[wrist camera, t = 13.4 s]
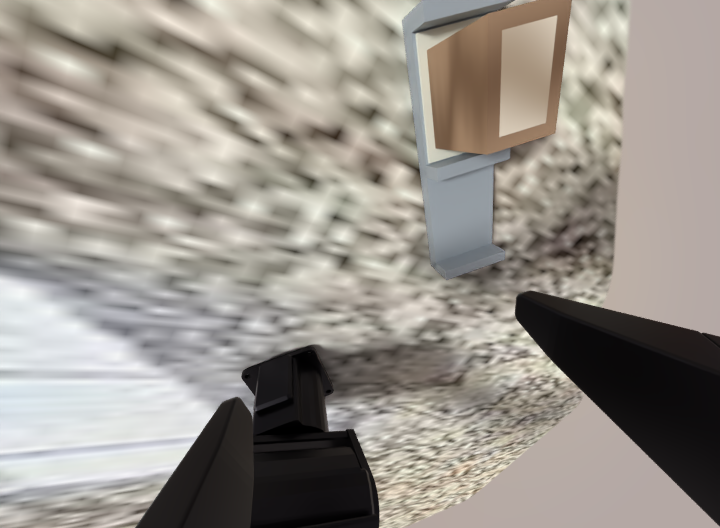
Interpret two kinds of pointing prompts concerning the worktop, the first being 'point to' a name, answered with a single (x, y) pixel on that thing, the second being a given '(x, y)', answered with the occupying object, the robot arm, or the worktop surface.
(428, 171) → the bracket
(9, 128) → the worktop surface
